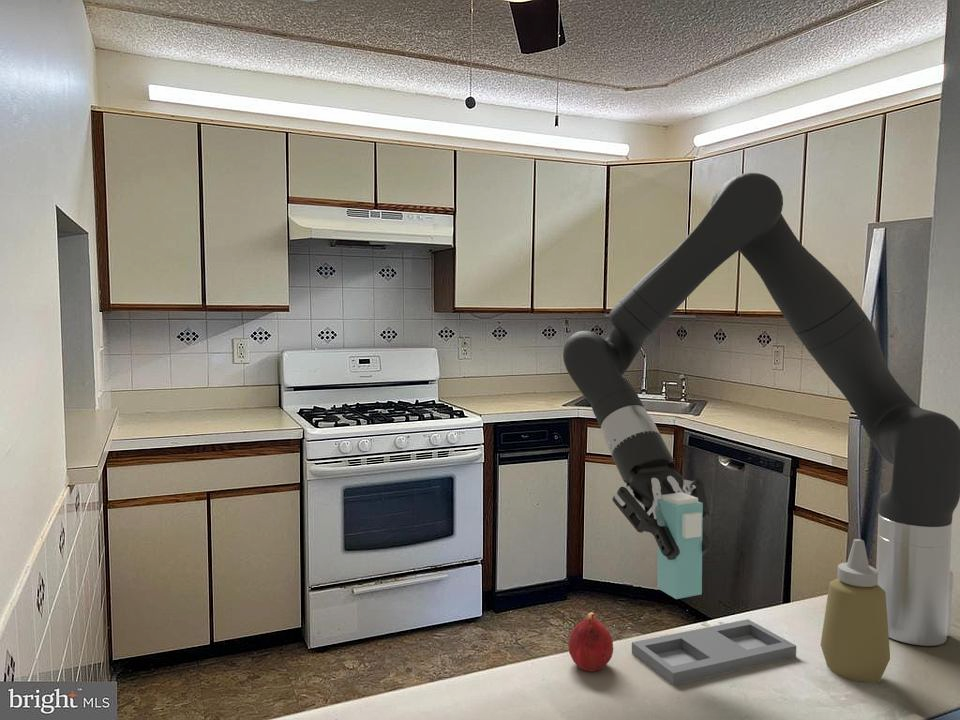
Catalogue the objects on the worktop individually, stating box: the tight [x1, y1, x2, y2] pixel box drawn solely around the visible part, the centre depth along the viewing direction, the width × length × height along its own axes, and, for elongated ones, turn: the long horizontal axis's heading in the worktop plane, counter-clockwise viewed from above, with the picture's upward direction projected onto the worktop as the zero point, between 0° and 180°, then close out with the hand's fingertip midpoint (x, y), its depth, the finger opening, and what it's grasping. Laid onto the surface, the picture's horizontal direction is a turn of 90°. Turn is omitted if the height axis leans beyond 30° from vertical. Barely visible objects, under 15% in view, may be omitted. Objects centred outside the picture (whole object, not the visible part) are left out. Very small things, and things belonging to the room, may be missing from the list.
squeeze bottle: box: [820, 538, 891, 684], centre depth 92 cm, size 8×8×18 cm
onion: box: [568, 611, 614, 673], centre depth 93 cm, size 6×6×8 cm
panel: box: [631, 618, 797, 686], centre depth 97 cm, size 20×9×2 cm, turn 112°
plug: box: [656, 491, 703, 600], centre depth 93 cm, size 4×5×13 cm
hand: (689, 554), depth 92 cm, fingers closed on plug, 4 cm apart
